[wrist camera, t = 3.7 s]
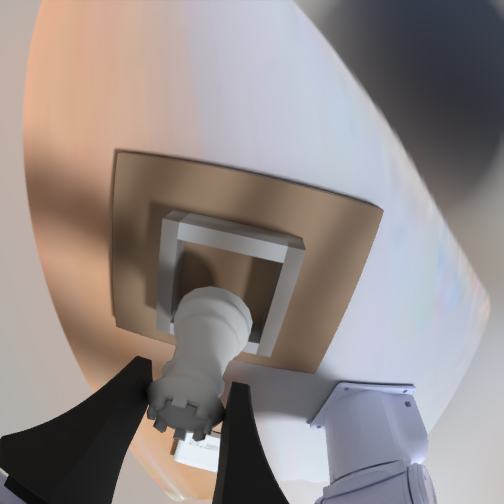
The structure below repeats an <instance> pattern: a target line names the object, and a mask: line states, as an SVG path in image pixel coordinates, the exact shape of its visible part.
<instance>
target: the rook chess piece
mask: <svg viewBox="0 0 504 504" xmlns="http://www.w3.org/2000/svg"><path fill="white" fill-rule="evenodd" d="M252 323H253V322H252V318H251V314H250V311H249V309H248V307H247V306H246V305H245V304H244V302H243V301H242V300H241V298H240V297H238V296H236V295H235V294H233V293H231V292H230V291H228V290H226V289H221V288H216V287H211V286H209V287H203V288H197V289H194V290H193V291H191V292H190V293H188V294H186V295H185V296H184V297H183V299H182V300H181V302H180V304H179V305H178V309H177V311H176V313H175V315H174V333H175V340H176V342H177V344H176V348H175V352H174V356H173V359H172V360H171V361H169V362H167V363H166V364H165V366H164V367H163V369H162V376H163V378H161V379H159V380H156V381H154V382H152V383H150V385H149V386H148V388H147V389H146V398H147V402H148V404H149V408H148V410H147V418H148V419H151V420H155V418H156V420H155V423H154V425H153V426H154V427H155V428H156V429H157V430H159V431H160V432H161V433H163V432H165V431H166V428H167V426H168V427H170V428H172V429H174V430H175V433H174V436H173V438H174V439H178V440H182V441H185V438H186V435H187V433H193V436H192V439H193V440H194V441H195V442H198V441H202V440H205V438H206V434H208V435H211V431H212V428H214V427H216V426H217V425H218V424H219V423H221V422H222V421H223V420H224V416H225V409H224V406H223V404H222V402H221V400H220V399H219V397H220V396H221V395H222V394H223V393H224V388H225V383H224V380H223V378H222V377H223V374H224V372H225V369H226V367H227V365H228V363H229V361H231V360H232V359H233V358H234V357H235V356H238V354H239V353H240V352H241V351H242V350H243V349H244V347H245V346H246V345H247V343H248V339H249V335H250V332H251V327H252Z"/></svg>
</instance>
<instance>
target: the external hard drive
mask: <svg viewBox="0 0 504 504" xmlns="http://www.w3.org/2000/svg"><path fill="white" fill-rule="evenodd" d="M192 436H193V433H187V435H186V438H185V441H182V440H179V441H178V445H177V448H176V451H175V455H174V458H173V460H174V461H176V462H179V463H183V464H186V465H189V466H193V467H197V468H201V469H205V470H209V471H213V472H217V471H218V459H219V448H220V436H221V433H217V432H213V431H211V435H208V434H206V438H205V440H202V441H198V442H195V441H194V440H193V439H192Z"/></svg>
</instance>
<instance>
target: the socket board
mask: <svg viewBox="0 0 504 504" xmlns="http://www.w3.org/2000/svg"><path fill="white" fill-rule="evenodd" d="M383 212H384V210H383V209H381V208H380V207H378V206H375V205H372V204H369V203H365V202H362V201H359V200H355V199H352V198H349V197H345V196H342V195H338V194H335V193H331V192H328V191H324V190H320V189H317V188H313V187H309V186H305V185H301V184H297V183H293V182H289V181H285V180H281V179H277V178H273V177H268V176H264V175H259V174H255V173H250V172H245V171H241V170H236V169H231V168H226V167H221V166H215V165H210V164H204V163H199V162H193V161H187V160H181V159H175V158H168V157H161V156H154V155H147V154H139V153H131V152H121V153H118V155H117V164H116V174H115V185H114V200H113V222H112V272H113V293H114V308H115V319H116V327H119V328H122V329H125V330H128V331H130V332H133V333H137V334H140V335H143V336H146V337H149V338H152V339H155V340H159V341H162V342H165V343H169V344H172V345H176V344H177V342H176V340H175V333H174V315H175V313H176V311H177V309H178V305H179V304H180V302H181V300H182V299H183V297H184V296H185V295H186V294H188V293H190V292H191V291H193V290H194V289H197V288H203V287H209V286H211V287H216V288H221V289H226V290H228V291H230V292H231V293H233V294H235V295H236V296H238V297H240V298H241V300H242V301H243V302H244V304H245V305H246V306H247V307H248V309H249V311H250V314H251V318H252V322H253V323H252V327H251V332H250V335H249V339H248V343H247V345H246V346H245V347H244V349H243V350H242V351H241V352H240V353H239V354H238V356H235V357H234V358H233V359H232V360H237V361H241V362H246V363H251V364H256V365H262V366H267V367H273V368H279V369H285V370H291V371H298V372H305V373H312V374H315V372H316V370H317V368H318V367H319V365H320V363H321V361H322V359H323V357H324V355H325V353H326V351H327V349H328V347H329V345H330V343H331V341H332V339H333V337H334V335H335V333H336V331H337V328H338V326H339V324H340V322H341V320H342V318H343V315H344V313H345V311H346V309H347V307H348V304H349V302H350V300H351V297H352V295H353V293H354V290H355V288H356V285H357V283H358V281H359V278H360V276H361V273H362V271H363V268H364V266H365V263H366V260H367V258H368V255H369V252H370V250H371V247H372V244H373V241H374V239H375V236H376V233H377V230H378V227H379V224H380V221H381V218H382V215H383Z"/></svg>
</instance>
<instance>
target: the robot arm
mask: <svg viewBox="0 0 504 504" xmlns="http://www.w3.org/2000/svg"><path fill="white" fill-rule="evenodd" d="M152 382H153V380H152V362H151V360H149V359H146V358H143V357H140V356H136V357H135V358H134V359H133V360H132V361H131V362H130V363H129V364H128V365H127V366H126V367H125V368H124V369H122V370H121V371H120V372H119V373H118V374H117V375H116V376H115V377H114V378H112V379H111V380H110V381H109V382H108V383H107V384H105V385H104V386H103V387H102V388H101V389H99V390H98V391H97V392H95V393H94V394H93V395H91V396H90V397H89V398H87V399H86V400H85V401H83V402H82V403H80V404H79V405H77V406H76V407H74V408H72V409H71V410H69V411H67V412H66V413H64V414H62V415H60V416H58V417H56V418H54V419H52V420H50V421H48V422H46V423H43V424H41V425H38V426H36V427H33V428H30V429H27V430H24V431H21V432H17V433H13V434H9V435H5V436H2V437H1V439H0V468H2V469H3V470H4V471H5V472H6V473H8V474H9V476H8V477H6V476H5V475H4V474H3V473H2V472H0V504H111V503H112V498H113V494H114V490H115V486H116V483H117V479H118V476H119V472H120V469H121V466H122V463H123V460H124V457H125V454H126V452H127V449H128V447H129V445H130V443H131V441H132V439H133V437H134V435H135V433H136V430H137V428H138V426H139V424H140V422H141V420H142V418H143V416H144V414H145V412H146V410H147V407H148V402H147V398H146V389H147V388H148V386H149V385H150V383H152ZM346 387H347V388H346ZM415 391H416V387H415V386H391V385H369V384H354V383H339V384H338V385H337V386H336V387H335V389H334V390H333V392H332V393H331V395H330V396H329V398H328V399H327V401H326V402H325V404H324V405H323V407H322V408H321V410H320V411H319V413H318V414H317V415H316V417H315V418H314V420H313V421H312V422H311V424H310V427H311V428H312V429H325V432H326V442H327V452H328V463H329V475H330V485H329V486H327V487H324V488H323V496H321V497H320V498H318V499H317V501H316V502H315V504H437V499H436V494H435V490H434V486H433V483H432V480H431V477H430V475H429V473H428V470H427V469H426V467H425V466H424V465H421V464H422V462H423V461H424V459H425V457H426V454H427V451H428V435H427V432H426V429H425V426H424V423H423V421H422V418H421V415H420V413H419V410H418V407H417V405H416V402H415V400H414V397H413V394H414V392H415ZM212 504H289V502H288V501H287V499H286V497H285V496H284V494H283V492H282V490H281V489H280V487H279V485H278V483H277V481H276V479H275V477H274V475H273V473H272V471H271V468H270V466H269V464H268V461H267V459H266V456H265V454H264V451H263V448H262V445H261V442H260V439H259V435H258V431H257V428H256V424H255V420H254V415H253V409H252V403H251V394H250V386H249V385H248V384H242V383H237V382H232V386H231V390H230V393H229V397H228V401H227V404H226V408H225V416H224V420H223V423H222V428H221V436H220V448H219V459H218V471H217V480H216V486H215V491H214V496H213V501H212Z"/></svg>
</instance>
